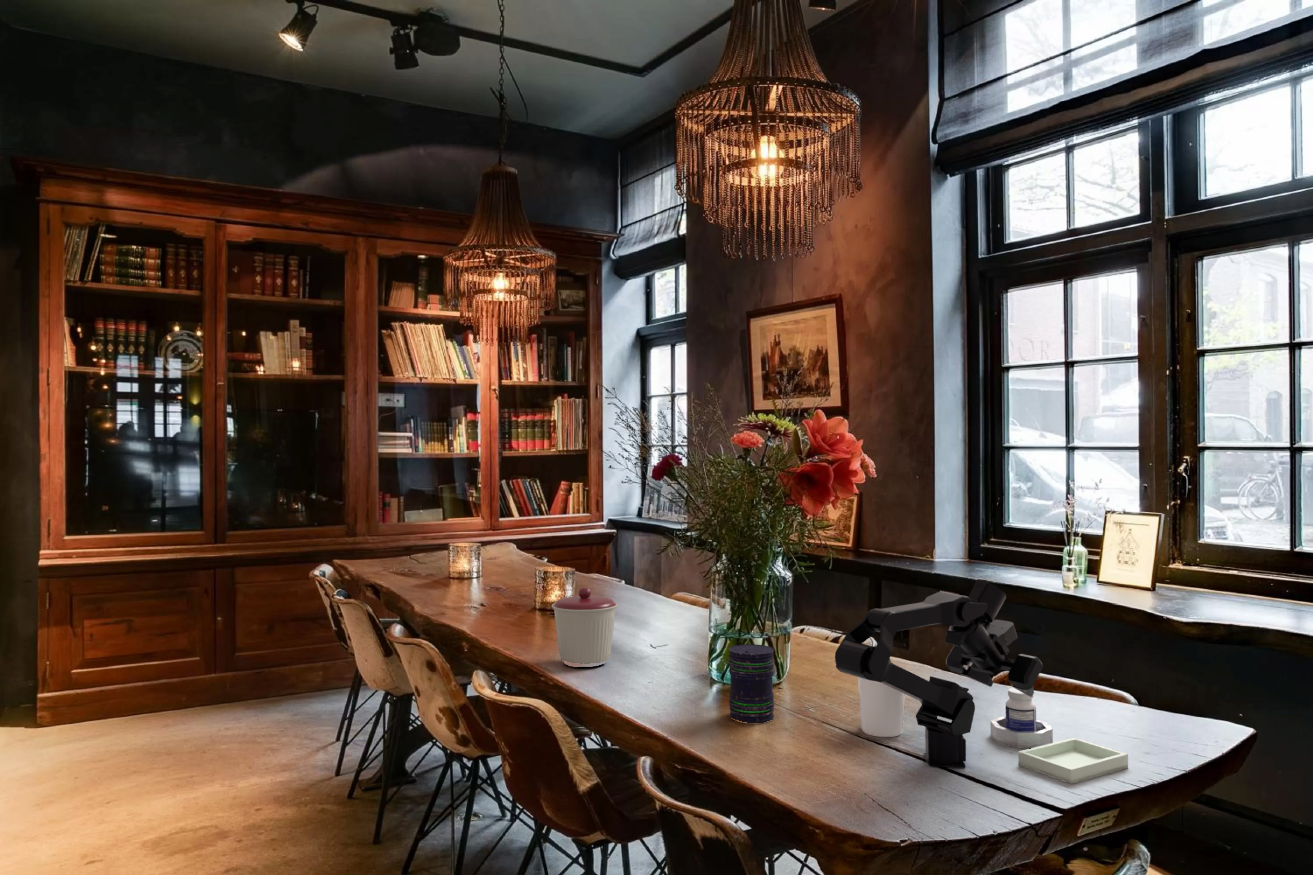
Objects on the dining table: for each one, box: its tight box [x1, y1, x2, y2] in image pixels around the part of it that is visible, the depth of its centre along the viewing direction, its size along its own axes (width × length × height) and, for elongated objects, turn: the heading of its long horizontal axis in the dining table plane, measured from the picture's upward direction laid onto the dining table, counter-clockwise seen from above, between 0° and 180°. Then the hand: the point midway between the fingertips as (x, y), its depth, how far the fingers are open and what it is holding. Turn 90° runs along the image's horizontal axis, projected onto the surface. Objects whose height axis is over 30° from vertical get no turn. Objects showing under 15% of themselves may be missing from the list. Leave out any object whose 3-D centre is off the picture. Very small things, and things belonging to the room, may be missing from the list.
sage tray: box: [1017, 737, 1129, 785], centre depth 165 cm, size 16×11×2 cm
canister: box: [551, 586, 619, 664], centre depth 247 cm, size 18×18×21 cm
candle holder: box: [857, 677, 906, 738], centre depth 187 cm, size 10×10×12 cm
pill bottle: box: [1005, 687, 1037, 732], centre depth 181 cm, size 6×6×10 cm
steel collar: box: [989, 716, 1054, 749], centre depth 181 cm, size 11×11×3 cm
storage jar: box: [728, 643, 775, 724], centre depth 197 cm, size 10×10×15 cm
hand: (1011, 689), depth 179 cm, fingers open, 9 cm apart
